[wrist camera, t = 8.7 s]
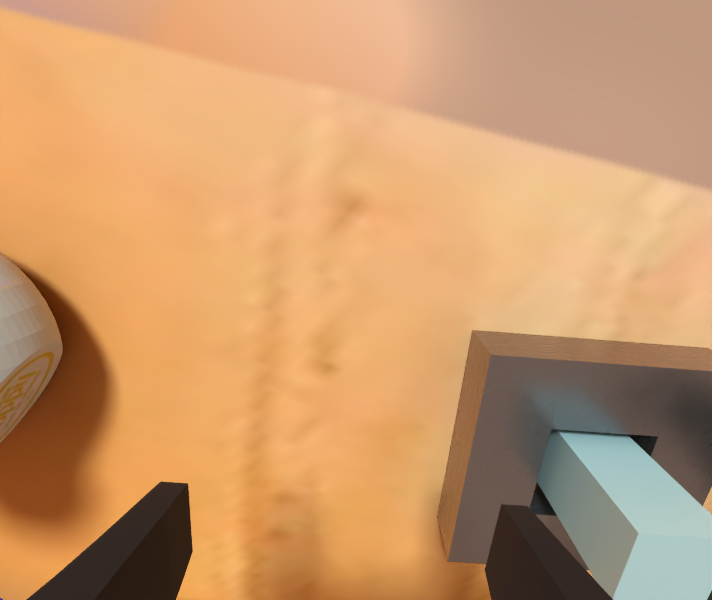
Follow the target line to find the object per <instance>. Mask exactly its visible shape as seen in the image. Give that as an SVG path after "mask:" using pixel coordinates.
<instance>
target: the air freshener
mask: <svg viewBox="0 0 712 600" xmlns="http://www.w3.org/2000/svg"><path fill="white" fill-rule="evenodd" d="M62 352H63V347H62V340H61V335H60V332H59V329H58V326H57V323H56V321H55V318H54V316H53V314H52V312H51V310H50V308H49V306H48V304H47V302H46V300H45V299H44V298H43V296H42V295H41V293H40V292H39V291H38V289H37V288H36V286H35V285H34V284H33V282H32V281H31V280H30V279H29V278H28V277H27V276H26V275H25V274H24V273H23V272H22V271H21V270H20V269H19V267H18V266H16V265H15V264H14V263H13V262H11V261H10V260H9V259H8V258H7V257H5V256H4V255H3V254H2V253H1V252H0V443H1V442H2V441H3V440H4V439H5V438H6V436H7V435H8V434H9V433H10V432H11V431H12V430H13V429H14V428H15V427H16V425H17V424H18V423H19V422H20V421H21V420H22V418H23V417H24V416H25V415H26V413H27V412H28V411H29V410H30V408H31V407H32V406H33V405H34V403H35V402H36V400H37V399H38V398H39V396H40V395H41V393H42V392H43V390H44V389H45V387H46V386H47V384H48V383H49V381H50V379H51V377H52V376H53V374H54V372H55V370H56V368H57V366H58V364H59V362H60V359H61V356H62Z"/></svg>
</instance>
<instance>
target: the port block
mask: <svg viewBox="0 0 712 600" xmlns="http://www.w3.org/2000/svg"><path fill="white" fill-rule="evenodd" d="M552 429H558V430H573V431H587V432H601V433H615V434H627V435H628V436H629V437H630V438H631V439H632V440H633V441H634V442H635V443H637V444H638V445H639V446H640V447H641V448H642V449H643V450H644V451H645V452H646V453H647V454H648V455H649V456H650V457H651V458H652V459H653V460H654V461H655V462H657V463H658V464H659V465H660V466H661V467H662V468H663V469H664V470H665V471H666V472H667V473H668V474H669V475H670V476H671V477H672V478H673V479H674V480H675V481H676V482H678V483H679V484H680V485H681V486H682V487H683V488H684V489H685V490H686V491H687V492H688V493H689V494H690V495H691V496H692V497H693V498H694V499H695V500H696V501H698V502H699V503H700V504H701V505H702V506H703V504H704V502H705V500H706V498H707V495H708V493H709V491H710V489H711V487H712V350H710V349H708V348H697V347H683V346H670V345H657V344H644V343H631V342H618V341H605V340H592V339H579V338H566V337H553V336H540V335H527V334H514V333H501V332H487V331H474V330H473V331H472V336H471V342H470V347H469V352H468V358H467V363H466V368H465V374H464V379H463V384H462V389H461V395H460V400H459V405H458V411H457V416H456V421H455V427H454V432H453V437H452V443H451V448H450V453H449V458H448V464H447V469H446V474H445V480H444V485H443V490H442V496H441V501H440V506H439V512H438V517H437V518H438V522H439V526H440V531H441V535H442V539H443V543H444V548H445V552H446V556H447V560H448V561H449V562H465V563H482V564H486V563H487V559H488V555H489V551H490V547H491V543H492V539H493V535H494V531H495V527H496V523H497V519H498V515H499V511H500V507H501V504H506V505H521V506H528V507H529V508H530V509H531V510H532V511H533V513H534V514H535V515H536V516H537V517H538V518H539V519H540V520H541V521H542V522H543V523H544V525H545V526H546V527H547V528H548V529H549V530H550V531H551V532H552V533H553V535H554V536H555V537H556V538H557V539H558V540H559V541H560V542H561V543H562V545H563V546H564V547H565V548H566V549H567V550H568V551H569V552H570V553H571V554H572V556H573V557H574V558H575V559H576V560H577V561H578V562H579V563H580V564H581V565H582V567H583V568H584V569H585V570H589V569H588V567H587V565H586V564H585V562H584V560H583V558H582V557H581V555H580V553H579V552H578V550H577V548H576V547H575V545H574V543H573V542H572V540H571V538H570V537H569V535H568V533H567V532H566V530H565V528H564V526H563V525H562V523H561V521H560V520H559V518H558V516H557V515H556V513H555V511H554V510H553V508H552V506H551V505H550V503H549V501H548V499H547V498H546V496H545V494H544V493H543V491H542V489H541V488H540V486H539V484H538V483H537V479H538V476H539V472H540V469H541V465H542V462H543V458H544V455H545V451H546V447H547V444H548V440H549V437H550V433H551V430H552Z"/></svg>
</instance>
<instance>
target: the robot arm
mask: <svg viewBox="0 0 712 600" xmlns="http://www.w3.org/2000/svg"><path fill="white" fill-rule="evenodd" d="M191 554H192V537H191V521H190V506H189V491H188V484H187V483H172V482H160V483H159V484H158V485H156V486H155V487H154V488H153V489H152V490H151V491H150V492H149V493H148V494H146V495H145V496H144V497H143V498H142V499H141V500H140V501H139V502H138V503H137V504H136V505H134V506H133V507H132V508H131V509H130V510H129V511H128V512H127V513H126V514H125V515H124V516H122V517H121V518H120V519H119V520H118V521H117V522H116V523H115V524H114V525H113V526H111V527H110V528H109V529H108V530H107V531H106V532H105V533H104V534H103V535H101V536H100V537H99V538H98V539H97V540H96V541H95V542H94V543H92V544H91V545H90V546H89V547H88V548H87V549H86V550H84V551H83V552H82V553H81V554H80V555H79V556H78V557H76V558H75V559H74V560H73V561H72V562H71V563H70V564H68V565H67V566H66V567H65V568H64V569H63V570H62V571H60V572H59V573H58V574H57V575H56V576H55V577H53V578H52V579H51V580H50V581H49V582H47V583H46V584H45V585H44V586H43V587H41V588H40V589H39V590H38V591H37V592H35V593H34V594H33V595H32V596H30V597H29V598H28V599H27V600H176V598H177V595H178V592H179V589H180V586H181V584H182V581H183V578H184V575H185V572H186V569H187V566H188V563H189V560H190V557H191ZM485 572H486V577H487V581H488V586H489V590H490V595H491V599H492V600H613V599H612V598H611V597H610V596H609V595H608V593H607V592H606V591H605V590H604V589H603V588H602V587H601V586H600V585H599V584H598V583H597V582H596V581H595V580H594V578H593V577H592V576H591V575H590V574H589V573H588V572H587V571H586V570H585V569H584V568H583V567H582V565H581V564H580V563H579V562H578V561H577V560H576V559H575V558H574V557H573V556H572V554H571V553H570V552H569V551H568V550H567V549H566V548H565V547H564V546H563V545H562V543H561V542H560V541H559V540H558V539H557V538H556V537H555V536H554V535H553V533H552V532H551V531H550V530H549V529H548V528H547V527H546V526H545V525H544V523H543V522H542V521H541V520H540V519H539V518H538V517H537V516H536V515H535V514H534V513H533V511H532V510H531V509H530V508H529V507H528V506H521V505H506V504H501V507H500V511H499V515H498V519H497V523H496V527H495V531H494V535H493V539H492V543H491V547H490V551H489V555H488V559H487V563H486V567H485Z"/></svg>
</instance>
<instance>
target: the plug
mask: <svg viewBox="0 0 712 600" xmlns="http://www.w3.org/2000/svg"><path fill="white" fill-rule="evenodd" d="M537 483H538V484H539V486H540V488H541V489H542V491H543V493H544V494H545V496H546V498H547V499H548V501H549V503H550V505H551V506H552V508H553V510H554V511H555V513H556V515H557V516H558V518H559V520H560V521H561V523H562V525H563V526H564V528H565V530H566V532H567V533H568V535H569V537H570V538H571V540H572V542H573V543H574V545H575V547H576V548H577V550H578V552H579V553H580V555H581V557H582V558H583V560H584V562H585V564H586V565H587V567H588V569H589V570H590V572H591V574H592V575H593V577H594V579H595V580H596V582H597V583H598V584H599V585H600V586H601V587H602V588H603V589H604V590H605V591H606V592H607V593H608V595H609V596H610V597H611V598H612V599H613V600H707V599H708V597H709V595H710V593H711V591H712V515H711V514H710V513H709V512H708V511H707V510H706V509H705V508H704V507H703V506H702V505H701V504H700V503H699V502H698V501H696V500H695V499H694V498H693V497H692V496H691V495H690V494H689V493H688V492H687V491H686V490H685V489H684V488H683V487H682V486H681V485H680V484H679V483H678V482H676V481H675V480H674V479H673V478H672V477H671V476H670V475H669V474H668V473H667V472H666V471H665V470H664V469H663V468H662V467H661V466H660V465H659V464H658V463H657V462H655V461H654V460H653V459H652V458H651V457H650V456H649V455H648V454H647V453H646V452H645V451H644V450H643V449H642V448H641V447H640V446H639V445H638V444H637V443H635V442H634V441H633V440H632V439H631V438H630V437H629V436H628V435H627V434H615V433H601V432H587V431H573V430H558V429H552V430H551V433H550V437H549V440H548V444H547V447H546V451H545V455H544V458H543V462H542V465H541V469H540V472H539V476H538V479H537Z"/></svg>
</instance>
